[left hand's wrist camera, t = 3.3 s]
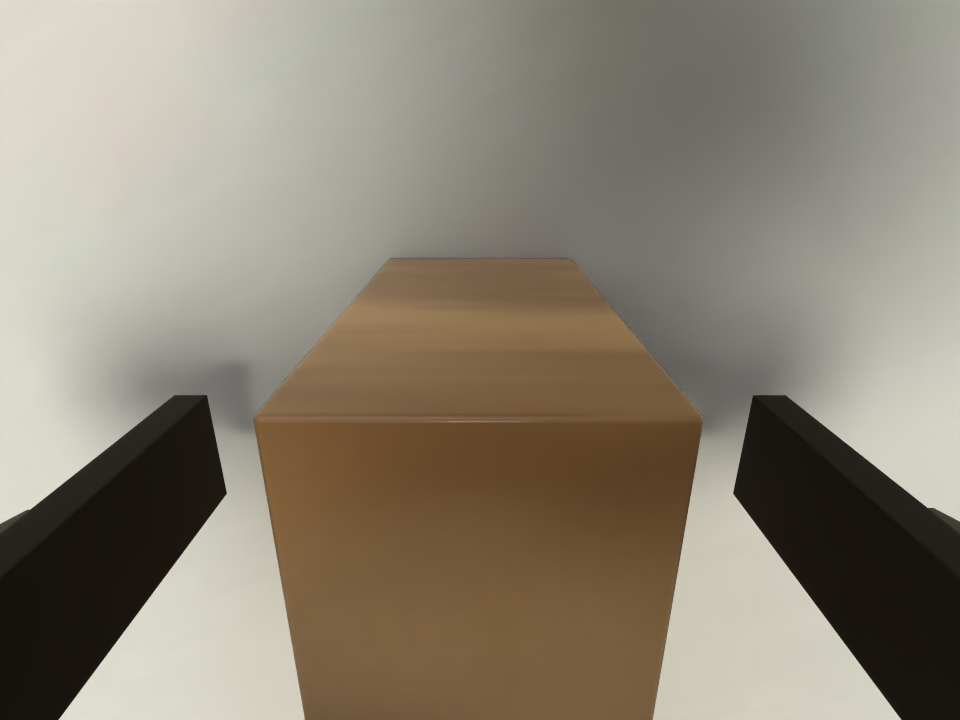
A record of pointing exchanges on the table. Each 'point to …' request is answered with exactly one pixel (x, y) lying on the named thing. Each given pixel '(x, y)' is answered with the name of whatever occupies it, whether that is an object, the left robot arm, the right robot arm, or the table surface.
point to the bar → (478, 499)
